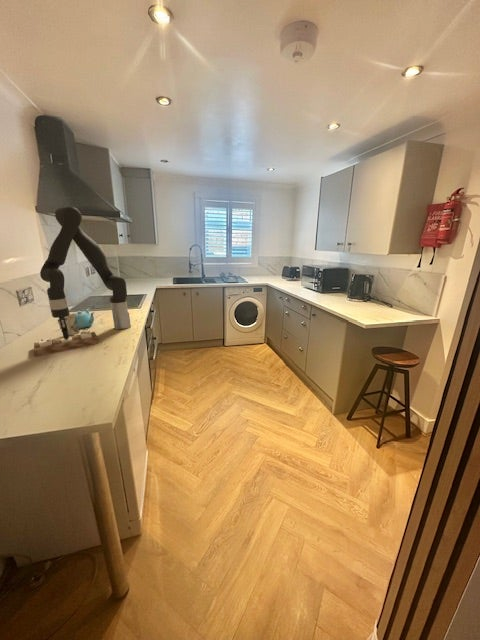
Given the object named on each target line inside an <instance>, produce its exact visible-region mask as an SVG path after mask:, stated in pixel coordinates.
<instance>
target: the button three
mask: <svg viewBox="0 0 480 640" xmlns="http://www.w3.org/2000/svg"><path fill="white" fill-rule="evenodd" d="M79 335H80V337H81V339H85V338H90V337H92V335H91V331H90V330H89V331H82V332H79Z"/></svg>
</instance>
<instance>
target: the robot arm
mask: <svg viewBox="0 0 480 640" xmlns="http://www.w3.org/2000/svg"><path fill="white" fill-rule="evenodd" d="M54 216H55V217H54V218H55V219H56V221H57V223H58V224H59V225H60V226H61V228H60V230H59V233H58V234H57V236H56V237H55V238H54V240H53V242H52V244H51V247H50V250H49V252H48V256H47V258H46V260H45V261H44V263H43V265H42V266H41V268H40V271H39V272H40V273H39V276H40V278H41V279H42V281H44V282H46V283H49V287H48V288H47V289H46V293H47V298H48V301H49V302H48V303H49V309H50V312H51V316H52V318H56V319H57V318H58V319H57V323H58V325H59V328H60V331H61V333H62V336H63V337H62V338H64V339H68V338H69V336H70V335H68V329H67V328H68V325H67V319H66V318H64V317H65V316H68V315H69V314H70V313H71V312H70V310H69V305H68V302H67V298H66V294H65V290H64V289H65V275H64V273H63V272H62V270H61V269H60V267H61V266H63V265H64V264H65V263H66V259H67V256H68V252H69V249H70V246H71V244H72V241H73V242H74V244H75V245H76V246H77V247H78V249H79V250H80V251H81V253H82V254H83V256H84V257H85V258H86V260H87V261H88V262H89V264H91V266H92V267H93V269H94V270H95V271H96V274H98V276H99V277H100V279H101V281H102V282H103V284H104V286H105V287H106V289H108V290H109V291H112V296H110V298H109V301H110V308H111V313H112V319H113V320H112V321H113V326H114V329H115V330H124V329H128V328H131V327H132V325H131V316H130V312H129V310H128V304H127V303H128V302H127V299H128V298H127V297H128V291H127V290H128V289H127V284H126V280H125V279H124V277H122V276H117V275H115V274H114V273H113V272H112V271H111V270H110V268H109V265H108V262H107V259H106V255H105V253H104V251H103V250H102V249H101V247H100V246H99V244H98V243H97V242H96V241H94V239H92V238H91V237H90V236H88V234H86V233H85V232H84V231H83V230H82V228H81V227H80V225H81V224H82V220H83V216H82V213H81V211H80V210H79V209H78V208H76V207H75V206H65V207H64V206H63V207H59V208H56V210H55V212H54Z"/></svg>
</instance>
